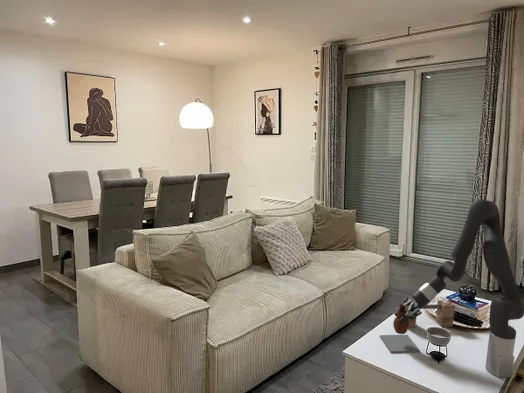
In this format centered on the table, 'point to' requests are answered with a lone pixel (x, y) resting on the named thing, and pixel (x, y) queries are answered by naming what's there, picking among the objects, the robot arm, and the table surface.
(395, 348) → the slate mat
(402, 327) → the wooden figurine
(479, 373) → the table surface
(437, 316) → the handrail
